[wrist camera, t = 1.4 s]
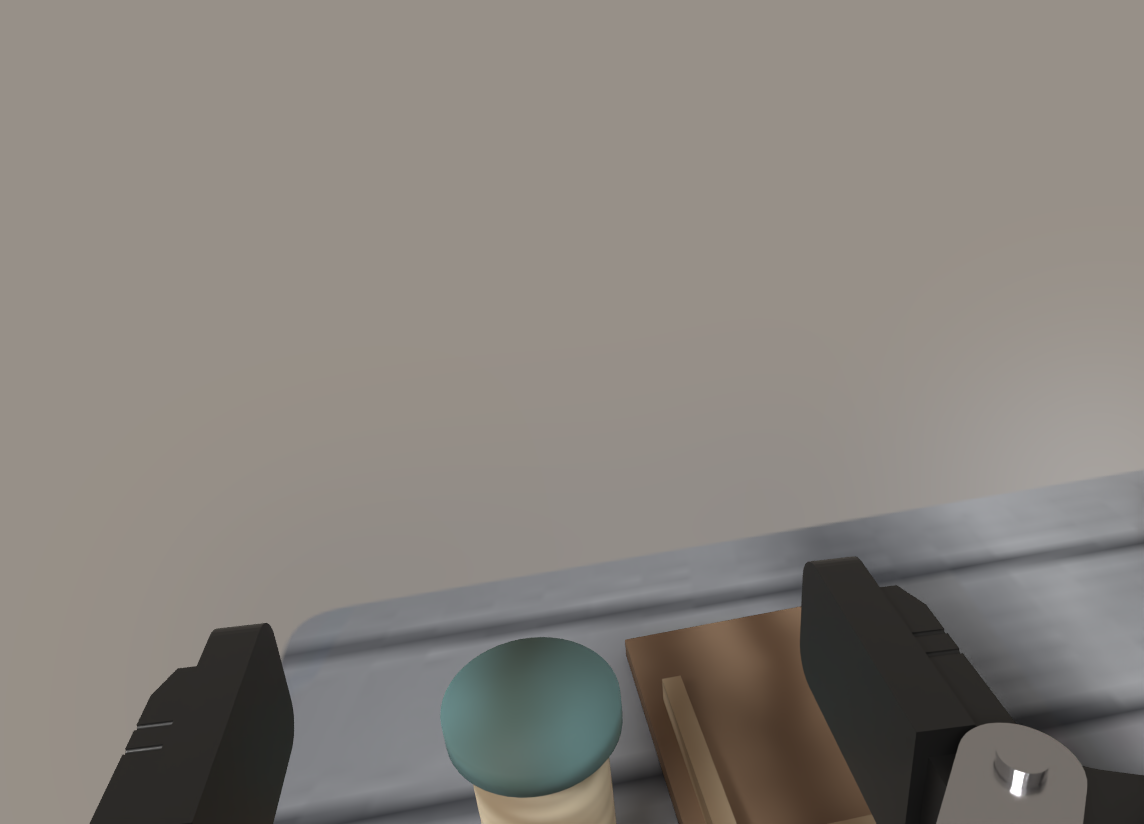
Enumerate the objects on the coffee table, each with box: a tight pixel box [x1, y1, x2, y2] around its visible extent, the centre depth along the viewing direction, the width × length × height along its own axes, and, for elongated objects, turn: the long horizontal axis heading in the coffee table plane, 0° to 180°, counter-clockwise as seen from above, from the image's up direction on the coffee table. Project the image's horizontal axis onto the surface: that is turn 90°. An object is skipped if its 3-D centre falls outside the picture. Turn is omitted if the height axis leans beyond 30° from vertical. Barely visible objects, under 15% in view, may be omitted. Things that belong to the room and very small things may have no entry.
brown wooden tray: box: [625, 607, 876, 824], centre depth 43 cm, size 14×20×3 cm
